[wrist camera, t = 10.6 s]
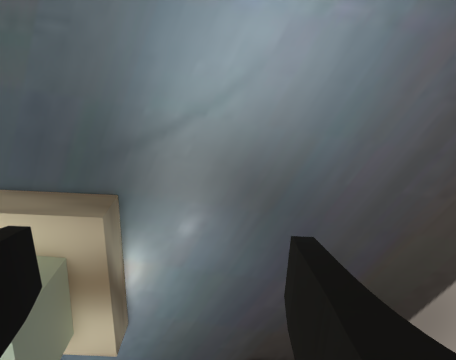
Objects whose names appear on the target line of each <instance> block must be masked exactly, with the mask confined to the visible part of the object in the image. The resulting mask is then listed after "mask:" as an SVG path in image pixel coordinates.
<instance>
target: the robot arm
mask: <svg viewBox="0 0 456 360" xmlns="http://www.w3.org/2000/svg"><path fill="white" fill-rule="evenodd" d="M41 289H42V282H41V277H40V272H39V267H38V262H37V257H36V252H35V246H34V241H33V236H32V231H31V227H30V226H6V227H3V228H0V358H1V356H2V355H3V354H4V352H5V351H6V349H7V348H8V346H9V345H10V343H11V342H12V340H13V339H14V337H15V336H16V334H17V333H18V331H19V330H20V328H21V327H22V325H23V324H24V322H25V321H26V319H27V317H28V315H29V313H30V311H31V310H32V308H33V306H34V304H35V302H36V299H37V297H38V295H39V293H40V291H41ZM284 298H285V307H286V317H287V325H288V332H289V336H290V341H291V345H292V349H293V353H294V358H295V360H456V353H455V352H453V351H451V350H450V349H448V348H446V347H445V346H443V345H442V344H440V343H439V342H437V341H436V340H434V339H433V338H431V337H429V336H428V335H426V334H425V333H424V332H422V331H421V330H419V329H418V328H417V327H415V326H414V325H412V324H411V323H410V322H408V321H407V320H405V319H404V318H403V317H401V316H400V315H399V314H397V313H396V312H395V311H393V310H392V309H391V308H390V307H388V306H387V305H386V304H385V303H383V302H382V301H381V300H380V299H379V298H377V297H376V296H375V295H374V294H373V293H371V292H370V291H369V290H368V289H367V288H366V287H365V286H363V285H362V284H361V283H360V282H359V281H358V280H357V279H356V278H355V277H353V276H352V275H351V274H350V273H349V272H348V271H347V270H346V269H345V268H344V267H343V266H342V265H341V264H340V263H339V262H338V261H337V260H336V259H335V258H334V257H333V256H332V255H331V254H330V253H329V252H328V251H327V250H326V249H325V248H324V247H323V246H322V245H321V244H320V243H319V242H318V241H317V240H316V239H315V238H314V237H297V236H291V242H290V251H289V260H288V268H287V277H286V286H285V294H284Z"/></svg>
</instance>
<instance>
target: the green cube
mask: <svg viewBox="0 0 456 360" xmlns="http://www.w3.org/2000/svg"><path fill="white" fill-rule="evenodd" d="M36 257H37V262H38V267H39V272H40V277H41V282H42V289H41V291H40V293H39V295H38V297H37V299H36V302H35V304H34V306H33V308H32V310H31V311H30V313H29V315H28V317H27V319H26V321H25V322H24V324H23V325H22V327H21V328H20V330H19V331H18V333H17V334H16V336H15V337H14V339H13V340H12V342H11V343H10V345H9V346H8V348H7V349H6V351H5V352H4V354H3V355H2V356H1V358H0V360H60V359H61V357H62V355H63V353H64V351H65V350H66V348H67V346H68V344H69V342H70V340H71V338H72V336H73V334H74V332H73V322H72V312H71V302H70V292H69V282H68V272H67V262H66V258H60V257H48V256H36Z"/></svg>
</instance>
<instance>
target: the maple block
mask: <svg viewBox="0 0 456 360" xmlns="http://www.w3.org/2000/svg"><path fill="white" fill-rule="evenodd" d="M6 226H30V227H31V231H32V236H33V241H34V246H35V252H36V256H48V257H60V258H66V262H67V272H68V282H69V292H70V302H71V312H72V322H73V332H74V334H73V336H72V338H71V340H70V342H69V344H68V346H67V348H66V350H65V351H64V353H63V354H69V355H92V356H115V357H117V354H118V352H119V349H120V346H121V343H122V340H123V337H124V335H125V332H126V329H127V326H128V314H127V301H126V289H125V276H124V264H123V251H122V238H121V226H120V213H119V201H118V195H104V194H82V193H59V192H37V191H15V190H0V228H3V227H6Z"/></svg>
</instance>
